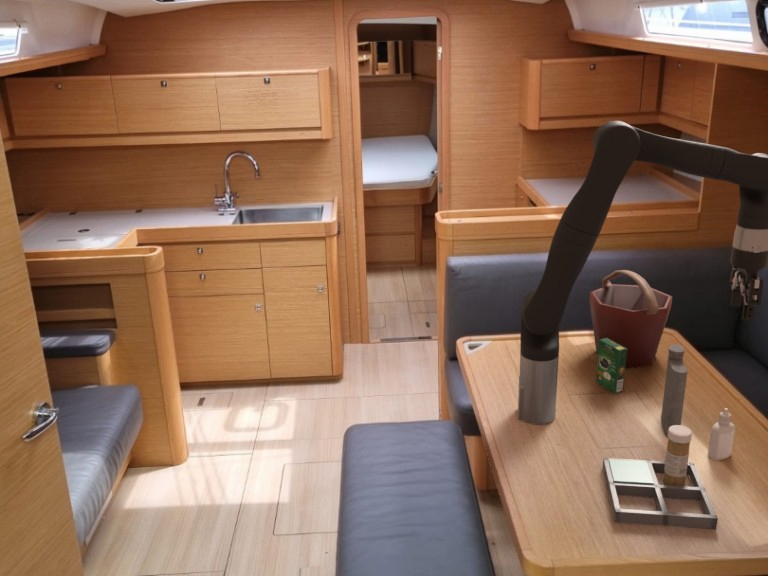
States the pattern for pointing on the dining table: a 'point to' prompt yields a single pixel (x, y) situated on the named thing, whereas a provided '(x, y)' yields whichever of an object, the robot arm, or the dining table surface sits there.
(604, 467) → the organizer
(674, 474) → the sprinkles bottle
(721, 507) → the dining table surface
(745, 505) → the dining table surface
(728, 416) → the eye dropper bottle
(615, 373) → the coffee box
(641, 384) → the dining table surface
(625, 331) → the bucket
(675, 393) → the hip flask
